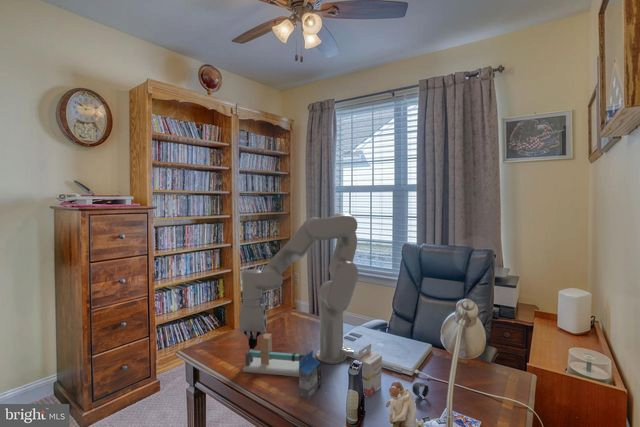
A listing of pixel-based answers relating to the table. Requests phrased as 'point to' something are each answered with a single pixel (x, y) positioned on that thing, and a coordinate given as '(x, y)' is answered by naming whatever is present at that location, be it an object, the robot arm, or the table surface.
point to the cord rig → (274, 363)
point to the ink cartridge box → (370, 370)
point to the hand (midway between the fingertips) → (252, 347)
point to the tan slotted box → (266, 348)
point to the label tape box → (309, 376)
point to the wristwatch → (416, 389)
